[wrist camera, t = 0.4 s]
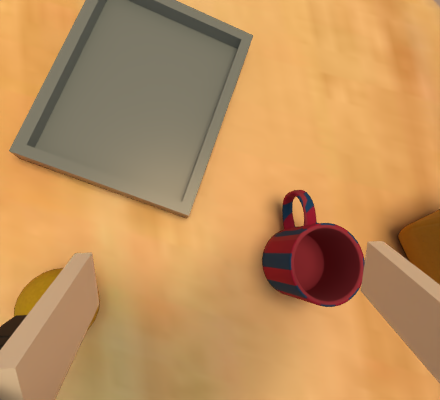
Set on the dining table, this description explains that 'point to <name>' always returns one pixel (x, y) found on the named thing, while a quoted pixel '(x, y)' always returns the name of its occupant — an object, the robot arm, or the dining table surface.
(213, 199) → the dining table surface
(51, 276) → the lemon
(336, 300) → the mug
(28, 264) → the dining table surface
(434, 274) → the flower pot
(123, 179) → the tray
